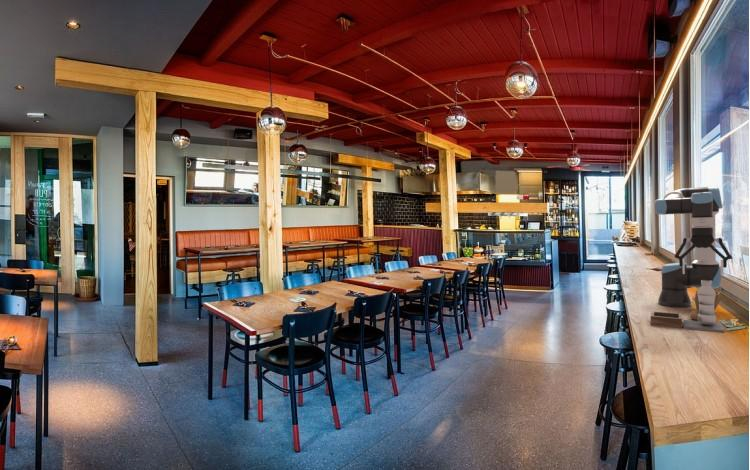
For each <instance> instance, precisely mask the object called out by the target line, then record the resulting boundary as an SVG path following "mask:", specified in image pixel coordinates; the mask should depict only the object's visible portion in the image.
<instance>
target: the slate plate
mask: <svg viewBox="0 0 750 470" xmlns="http://www.w3.org/2000/svg"><path fill="white" fill-rule="evenodd" d="M721 323H722V322H716V323H715V324H714V325H703V324H700V323H699V322H698V320H694V319H682V325H683V329H685V330H686V329H687V330H695V331H696V330H697V331H707V332H715V333H716V332H717V333H725V327H724V325H723V323H722V324H721Z"/></svg>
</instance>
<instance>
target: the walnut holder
mask: <svg viewBox="0 0 750 470" xmlns="http://www.w3.org/2000/svg"><path fill="white" fill-rule="evenodd" d="M650 325H651V326H661V327H669V328H670V327H671V328H680V329H682V328H683V313H679V312H678V313H677V312H667V311H666V312H665V311H664V312H663V311H653V310H651V313H650Z"/></svg>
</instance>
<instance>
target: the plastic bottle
mask: <svg viewBox="0 0 750 470" xmlns="http://www.w3.org/2000/svg"><path fill="white" fill-rule="evenodd" d="M701 285H702V286H701V287H698V291H697V290H696V291H697V294H698V299H699V314H698V318H697V319H698V320H697V321H698V322H699V323H700V324H703V325H714V324H715V323H717V317H716V316H715V315H716V310H714V301H715V295H716V292H715V291H716V290H715V288H712V287H711V285H712V281H710V280H701Z"/></svg>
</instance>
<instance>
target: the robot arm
mask: <svg viewBox="0 0 750 470" xmlns="http://www.w3.org/2000/svg"><path fill="white" fill-rule="evenodd" d="M721 196H722V195H721V192H720V188H719V187H717V186H703V187H701V186H700V187H688V188H687V187H685V188H680V189H679V188H678V189H675V190H672V191H669V192H668V193H667V194H665V195H664V196H663V198H658V199H656V200H655V201H654V212H655V214H656V215H663V216H664V215H680V214H681V215H684V214H685V215H687V214H689V215H690V214H691V227H692V228H691V238H690V237H689V238H688V237H683V238H682V242H681V245H680V247H679V248H678V250H677V251H676V253H675V254H674V258H675V259H678V262H673V263H666V264H663V265H662V266H661V273H660V274H661V292H660V294H659V297H658V300H657V303H658V304H659V305H661V306H665V307H675V308H689V307H692V301H691V298H690V294H689V293H688V288H700V287H701V286H702V285H701V280H710V281H712V285H711V287H712V288H713V289H717V288H720V286H721V283H722V277H723V276H724V268H725V269H726V268H727V266H728V264H727V261H728V260H732V259H733V256H732V254H731V253H730V252H729V250H728V248H727V247H726V245H725V244H724V243H723V237H718V238H717V237H716V215H718V213H719V212H720V209H723V202H722V197H721ZM689 242H691V243H692V245H691V246H689V248H687V249H686V250H685V251H684V252H683V253H682V251H683V249H684V247H685V246H686V245H687V244H688V243H689ZM716 243H717V244H718V245H719V246H720V247H721V249H722V250H723V252H724V253H725V255H726V256H725V255H724V254H723V253H721V251H719V250H718V249H717V248H716ZM694 249H695V250H694ZM693 250H694V253H695V258H694V260H693V261H692V262H691V265H688V263H687V262H685V259H684V258H685V257H686V256H687V255H688V254H690V252H691V251H693ZM681 253H682V254H681ZM680 254H681V255H680ZM716 254H717V255H718V257H720V258H721V259H720V262H718V260H716Z"/></svg>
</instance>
